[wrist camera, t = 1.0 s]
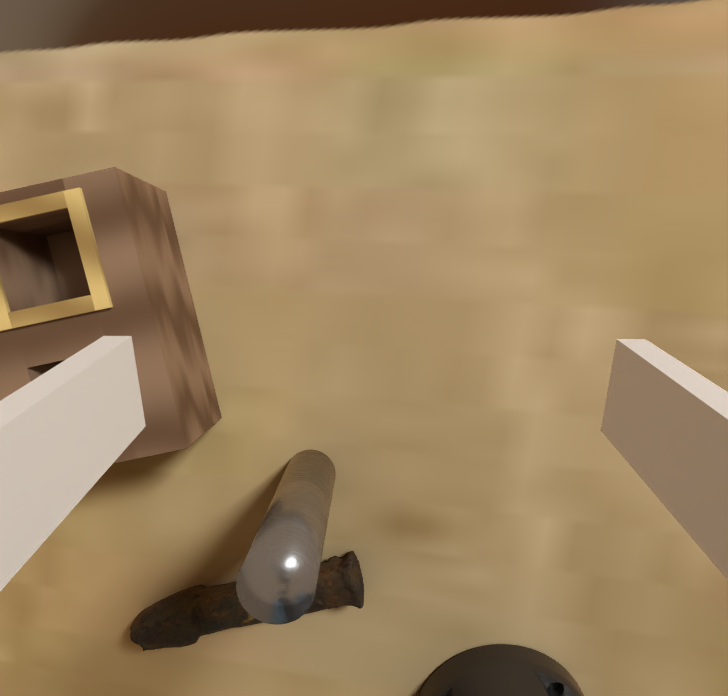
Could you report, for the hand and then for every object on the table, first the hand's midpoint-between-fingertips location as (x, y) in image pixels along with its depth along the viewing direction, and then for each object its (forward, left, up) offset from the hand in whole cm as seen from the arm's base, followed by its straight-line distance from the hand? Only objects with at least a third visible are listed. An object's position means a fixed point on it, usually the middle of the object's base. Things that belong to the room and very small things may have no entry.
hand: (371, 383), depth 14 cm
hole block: (+4, +19, -26) cm, 33 cm away
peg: (-11, +7, -26) cm, 29 cm away
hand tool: (-20, +14, -27) cm, 36 cm away
